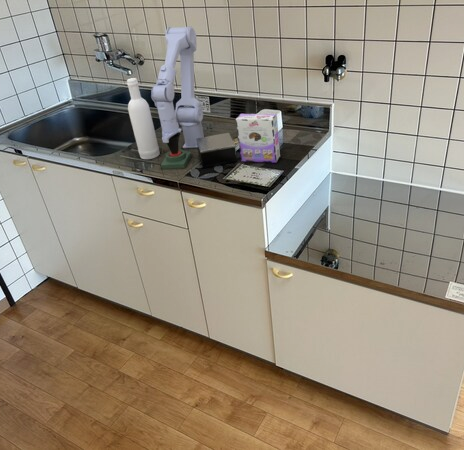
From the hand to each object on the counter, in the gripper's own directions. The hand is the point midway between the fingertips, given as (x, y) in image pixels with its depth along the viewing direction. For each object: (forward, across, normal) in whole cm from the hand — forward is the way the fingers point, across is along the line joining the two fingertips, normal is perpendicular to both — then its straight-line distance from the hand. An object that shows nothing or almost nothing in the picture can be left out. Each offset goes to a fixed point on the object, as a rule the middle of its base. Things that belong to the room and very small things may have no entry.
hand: (175, 153), depth 175 cm
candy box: (+4, 0, -32) cm, 32 cm away
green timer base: (+4, 0, 0) cm, 4 cm away
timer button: (+2, 0, 0) cm, 2 cm away
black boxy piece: (+4, +2, -16) cm, 16 cm away
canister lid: (-3, +1, -16) cm, 16 cm away
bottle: (+4, +7, +13) cm, 15 cm away
